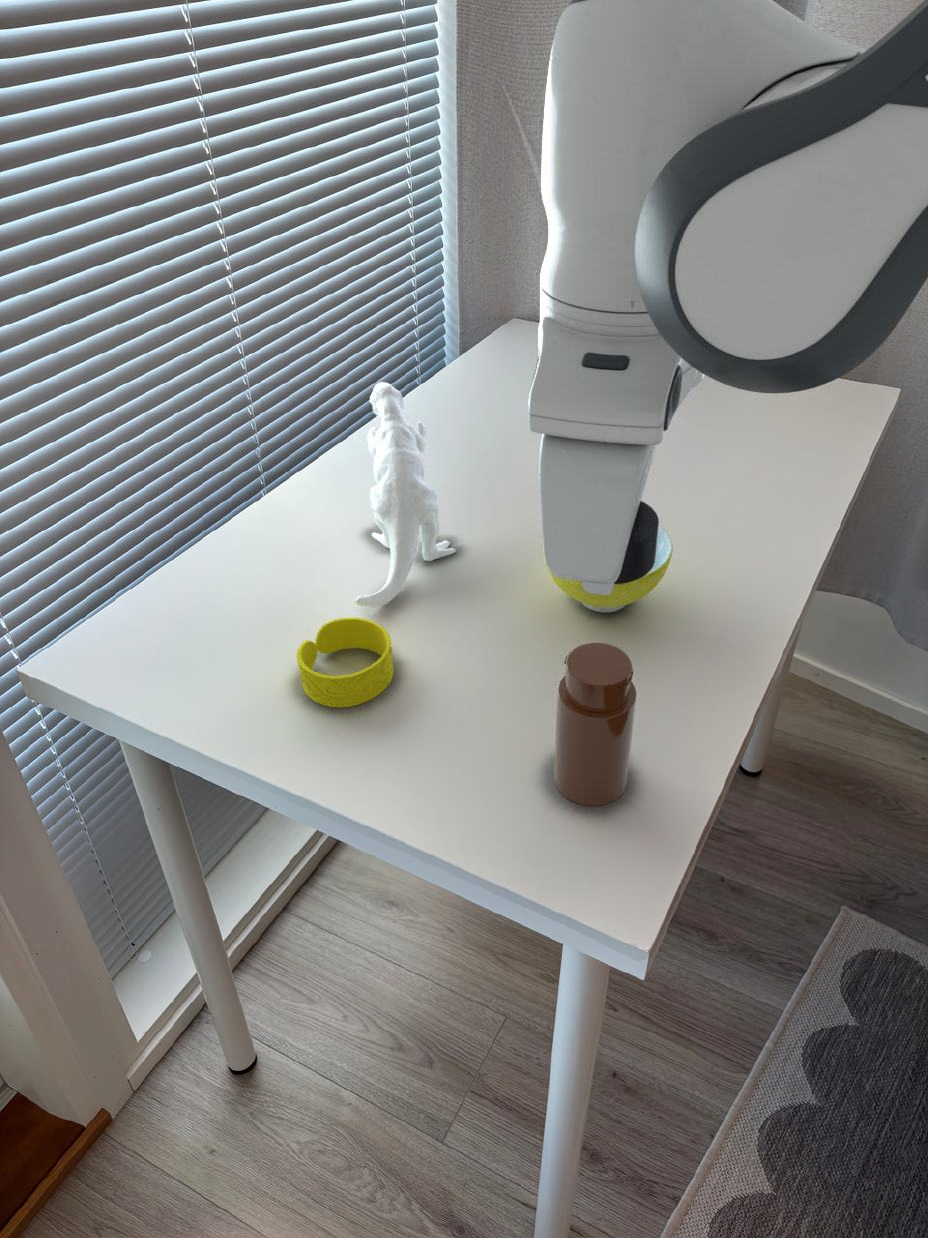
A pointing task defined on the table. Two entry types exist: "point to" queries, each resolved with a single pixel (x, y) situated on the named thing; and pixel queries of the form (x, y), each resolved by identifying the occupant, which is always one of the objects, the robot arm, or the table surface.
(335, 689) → the bracelet
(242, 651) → the table surface
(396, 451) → the dinosaur figurine
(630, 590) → the bowl
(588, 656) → the jar
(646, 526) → the lid
